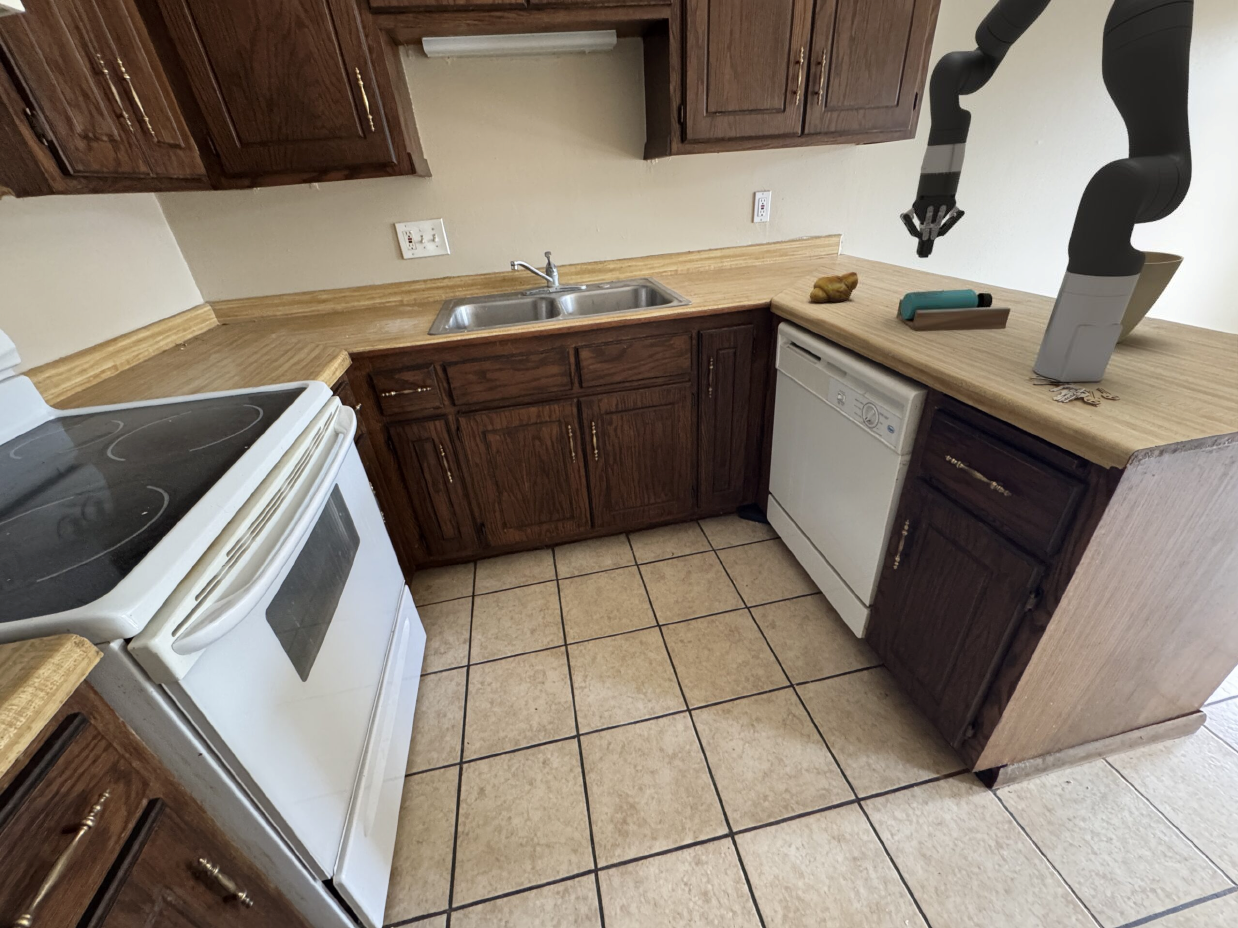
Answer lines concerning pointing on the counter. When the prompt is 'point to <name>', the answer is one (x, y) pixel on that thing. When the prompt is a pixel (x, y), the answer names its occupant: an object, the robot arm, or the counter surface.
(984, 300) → the beverage bottle
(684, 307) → the counter surface
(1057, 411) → the counter surface
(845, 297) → the bread roll
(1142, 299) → the plant pot
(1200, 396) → the counter surface
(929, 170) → the robot arm
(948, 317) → the walnut cradle
